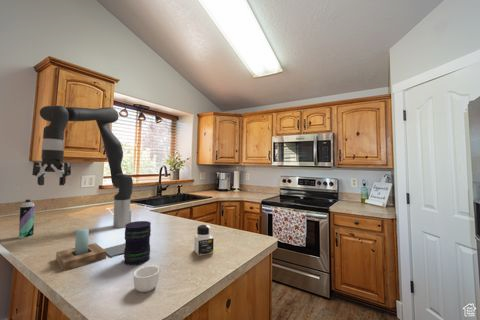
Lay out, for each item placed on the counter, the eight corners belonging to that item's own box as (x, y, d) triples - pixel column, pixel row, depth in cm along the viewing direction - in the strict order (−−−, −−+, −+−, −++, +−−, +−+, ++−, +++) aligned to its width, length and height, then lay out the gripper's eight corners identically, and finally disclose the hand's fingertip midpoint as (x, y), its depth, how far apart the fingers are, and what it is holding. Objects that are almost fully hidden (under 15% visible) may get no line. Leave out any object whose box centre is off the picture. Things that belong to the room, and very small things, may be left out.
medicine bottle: (198, 256, 92) (198, 228, 93) (193, 250, 99) (194, 224, 99) (213, 253, 96) (214, 226, 96) (208, 247, 102) (208, 223, 102)
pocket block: (95, 249, 98) (95, 243, 98) (106, 258, 89) (106, 251, 89) (55, 259, 87) (56, 252, 87) (63, 270, 78) (64, 262, 78)
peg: (86, 255, 91) (87, 227, 91) (89, 258, 88) (90, 230, 89) (73, 259, 88) (74, 230, 88) (76, 262, 85) (77, 232, 85)
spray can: (16, 237, 111) (18, 199, 112) (30, 234, 116) (31, 198, 117) (22, 239, 109) (23, 200, 110) (35, 236, 114) (37, 199, 115)
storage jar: (132, 268, 81) (133, 229, 81) (118, 261, 86) (119, 224, 87) (155, 258, 89) (156, 223, 90) (141, 253, 95) (142, 219, 95)
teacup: (146, 298, 63) (146, 279, 63) (127, 292, 66) (127, 274, 66) (168, 281, 72) (169, 265, 73) (151, 276, 75) (151, 261, 75)
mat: (126, 244, 105) (126, 242, 105) (136, 250, 98) (136, 248, 98) (101, 250, 97) (101, 249, 97) (110, 257, 90) (110, 256, 90)
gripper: (75, 150, 100) (74, 184, 100) (42, 149, 98) (41, 184, 98) (64, 149, 93) (62, 186, 92) (28, 148, 91) (26, 186, 90)
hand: (51, 185), depth 95 cm, fingers open, 8 cm apart
